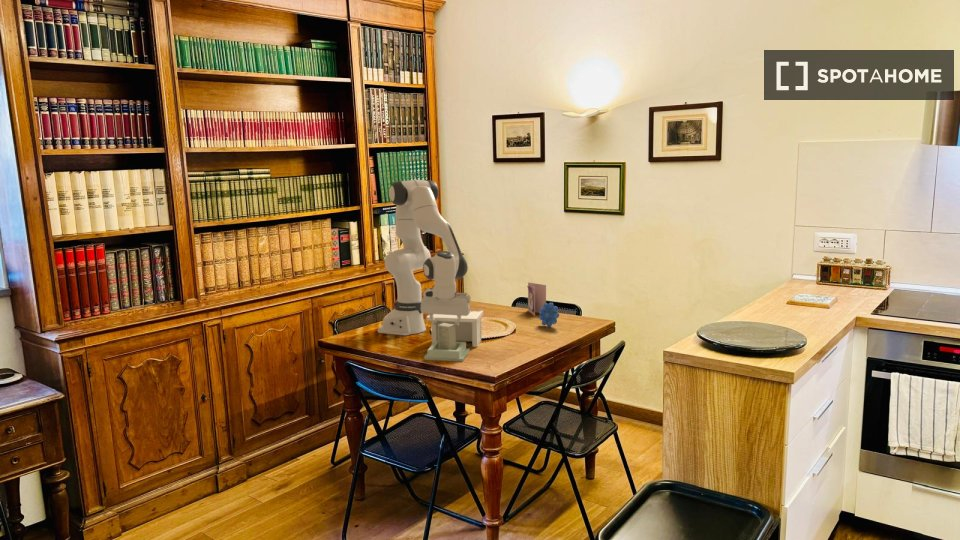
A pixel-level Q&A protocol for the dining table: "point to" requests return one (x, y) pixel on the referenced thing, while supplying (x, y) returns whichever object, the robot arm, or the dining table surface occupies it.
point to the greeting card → (536, 297)
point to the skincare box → (447, 336)
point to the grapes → (548, 314)
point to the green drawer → (447, 352)
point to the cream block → (460, 326)
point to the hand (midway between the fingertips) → (445, 324)
